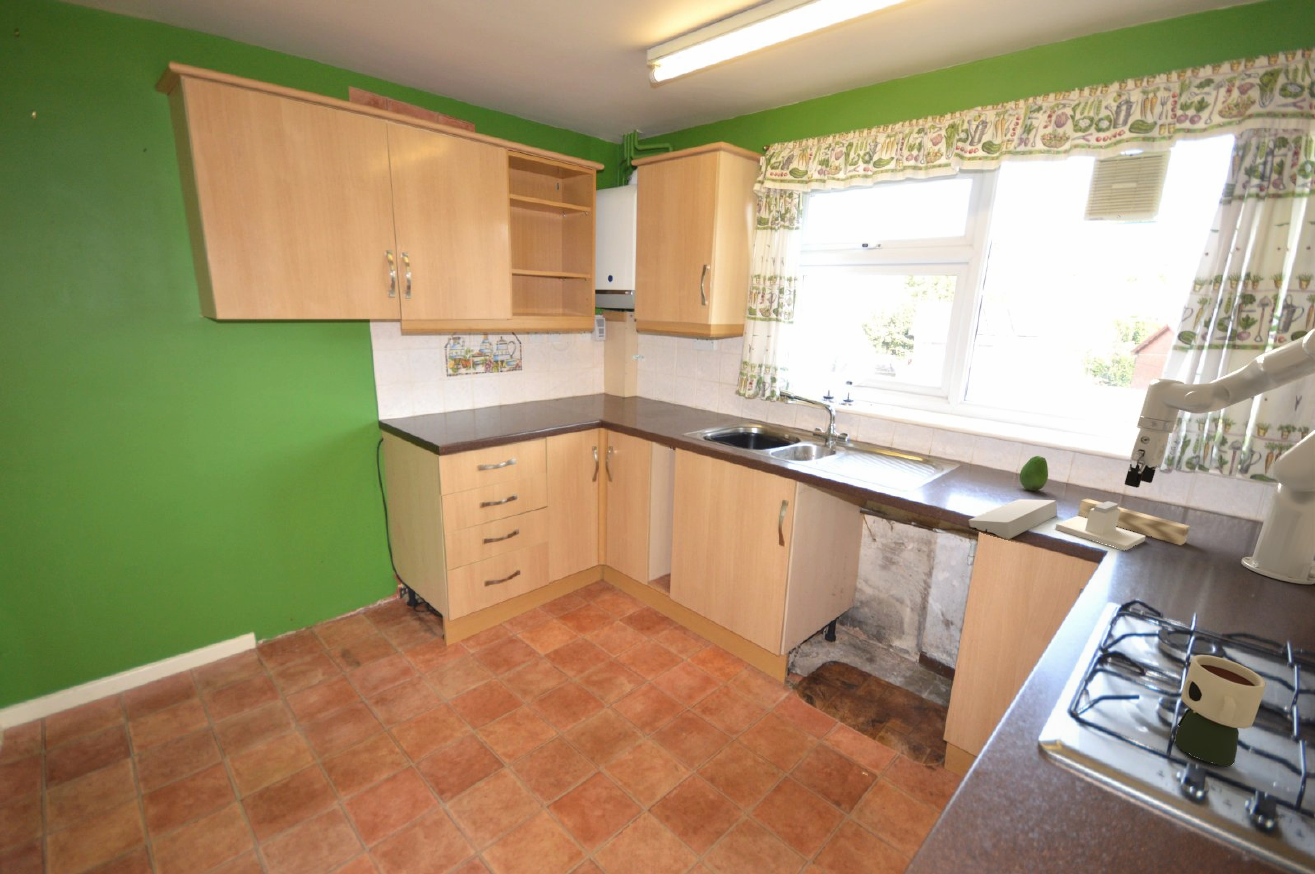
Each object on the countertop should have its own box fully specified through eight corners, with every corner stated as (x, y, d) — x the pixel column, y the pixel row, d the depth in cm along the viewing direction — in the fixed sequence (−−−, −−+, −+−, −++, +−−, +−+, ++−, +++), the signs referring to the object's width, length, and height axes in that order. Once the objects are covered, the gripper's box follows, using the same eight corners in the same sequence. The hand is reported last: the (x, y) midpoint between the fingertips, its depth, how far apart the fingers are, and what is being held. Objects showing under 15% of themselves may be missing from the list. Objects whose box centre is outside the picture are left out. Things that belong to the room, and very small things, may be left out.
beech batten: (1185, 543, 155) (1190, 526, 154) (1180, 546, 153) (1185, 528, 152) (1082, 513, 174) (1086, 498, 173) (1077, 516, 172) (1081, 500, 171)
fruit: (1011, 486, 197) (1018, 453, 194) (1028, 485, 200) (1036, 452, 197) (1032, 494, 190) (1040, 459, 187) (1050, 493, 192) (1058, 458, 189)
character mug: (1163, 719, 85) (1187, 641, 82) (1229, 742, 81) (1257, 662, 78) (1170, 763, 76) (1198, 678, 73) (1244, 792, 72) (1277, 704, 69)
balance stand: (1144, 541, 155) (1152, 510, 152) (1124, 551, 147) (1133, 519, 145) (1076, 520, 167) (1083, 492, 165) (1055, 528, 160) (1062, 499, 158)
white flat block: (970, 537, 158) (1009, 540, 150) (968, 519, 158) (1007, 522, 150) (1020, 514, 179) (1057, 516, 171) (1018, 499, 179) (1055, 500, 171)
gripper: (1161, 430, 149) (1143, 492, 153) (1183, 425, 158) (1165, 483, 163) (1127, 423, 155) (1109, 483, 159) (1150, 419, 164) (1133, 475, 169)
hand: (1138, 483), depth 161 cm, fingers open, 9 cm apart
